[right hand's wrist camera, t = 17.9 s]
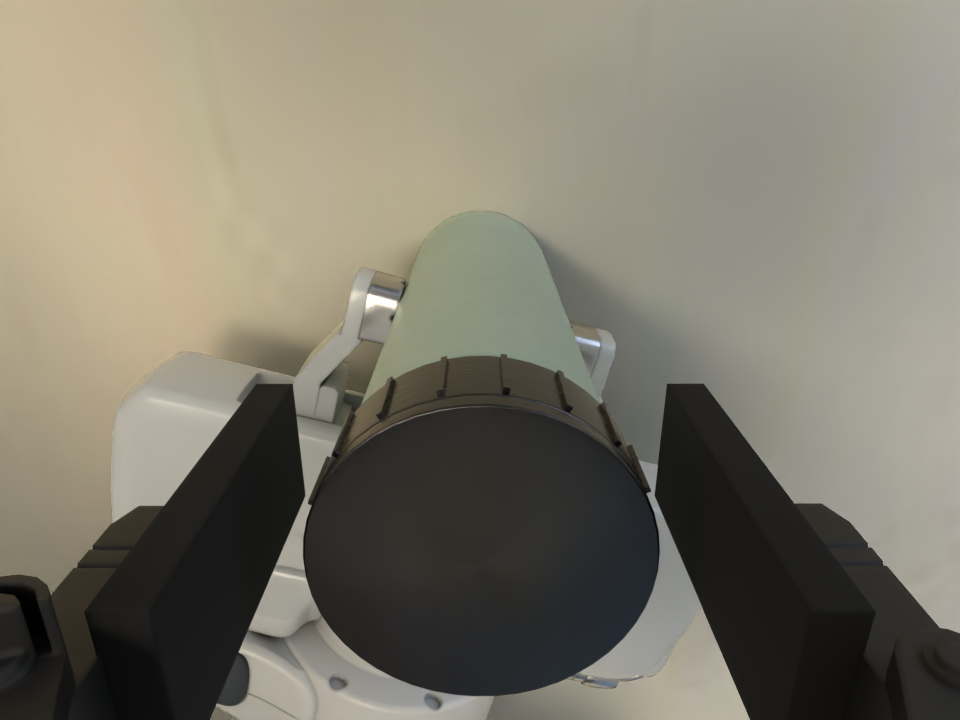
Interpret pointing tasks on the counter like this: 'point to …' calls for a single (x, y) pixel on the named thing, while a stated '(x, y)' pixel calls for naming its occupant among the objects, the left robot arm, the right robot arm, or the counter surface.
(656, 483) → the right robot arm
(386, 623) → the lid
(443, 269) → the pale green tall cylinder
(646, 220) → the counter surface
